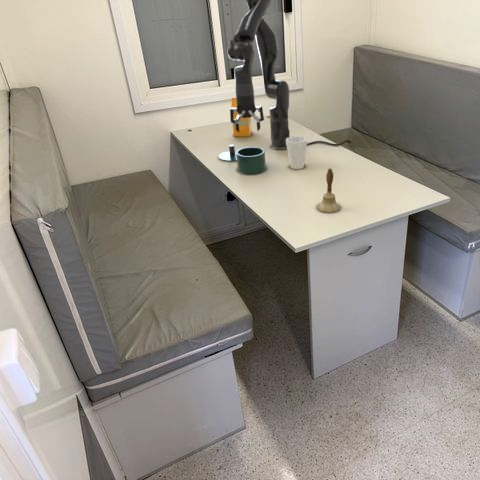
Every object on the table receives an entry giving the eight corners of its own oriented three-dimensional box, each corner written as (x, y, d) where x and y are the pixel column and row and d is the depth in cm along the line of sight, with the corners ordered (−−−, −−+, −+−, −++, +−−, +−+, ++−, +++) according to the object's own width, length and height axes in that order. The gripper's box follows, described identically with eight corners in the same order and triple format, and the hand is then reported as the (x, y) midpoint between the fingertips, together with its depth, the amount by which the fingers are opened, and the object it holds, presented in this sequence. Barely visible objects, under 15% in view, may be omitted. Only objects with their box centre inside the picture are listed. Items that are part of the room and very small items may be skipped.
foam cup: (310, 164, 203) (310, 137, 196) (301, 171, 196) (301, 144, 189) (292, 161, 206) (291, 135, 200) (283, 168, 199) (282, 141, 193)
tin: (264, 163, 205) (262, 146, 200) (267, 173, 194) (265, 155, 190) (237, 165, 202) (235, 148, 198) (238, 175, 192) (236, 157, 187)
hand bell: (338, 202, 169) (339, 164, 161) (340, 212, 162) (341, 173, 154) (317, 203, 169) (317, 164, 160) (318, 212, 162) (318, 173, 153)
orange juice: (249, 136, 239) (246, 99, 228) (233, 136, 239) (229, 99, 229) (251, 132, 246) (248, 96, 235) (236, 132, 246) (232, 96, 235)
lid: (245, 151, 218) (244, 140, 215) (247, 161, 207) (246, 149, 203) (218, 153, 215) (217, 141, 212) (218, 163, 204) (217, 151, 201)
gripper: (260, 90, 185) (263, 127, 194) (227, 92, 183) (231, 129, 191) (262, 94, 179) (265, 132, 188) (227, 96, 176) (232, 134, 185)
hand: (248, 131), depth 189 cm, fingers open, 8 cm apart
